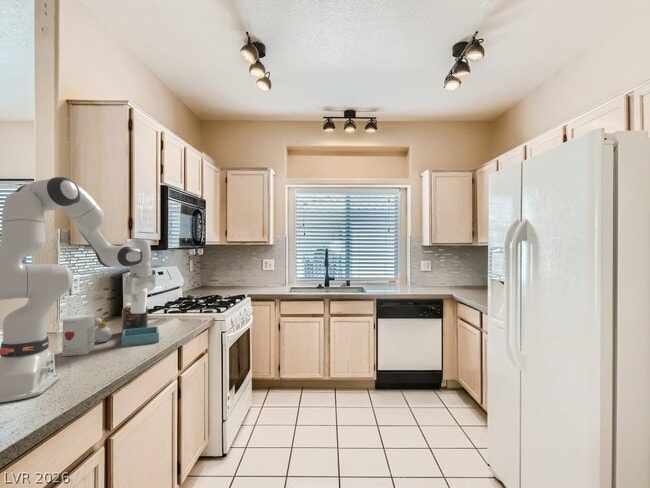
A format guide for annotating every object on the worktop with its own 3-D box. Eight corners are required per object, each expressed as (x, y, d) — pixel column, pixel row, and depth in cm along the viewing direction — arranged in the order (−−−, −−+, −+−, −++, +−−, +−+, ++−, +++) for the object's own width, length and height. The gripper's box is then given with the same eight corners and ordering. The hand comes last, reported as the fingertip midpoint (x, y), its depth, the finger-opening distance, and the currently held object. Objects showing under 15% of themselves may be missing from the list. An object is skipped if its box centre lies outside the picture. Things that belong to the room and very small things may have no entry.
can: (139, 314, 160) (141, 288, 161) (126, 313, 162) (129, 287, 163) (148, 312, 167) (150, 287, 168) (136, 311, 168) (139, 286, 169)
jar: (146, 334, 177) (146, 304, 177) (120, 336, 172) (120, 306, 172) (148, 328, 188) (148, 300, 188) (123, 330, 183) (124, 302, 183)
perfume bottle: (112, 338, 168) (112, 314, 168) (110, 344, 159) (110, 317, 159) (94, 340, 164) (94, 315, 164) (90, 346, 156) (90, 319, 156)
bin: (158, 342, 162) (158, 333, 162) (121, 346, 155) (121, 337, 155) (158, 334, 175) (158, 326, 175) (123, 338, 169) (123, 329, 169)
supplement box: (61, 356, 141) (61, 319, 141) (71, 350, 150) (71, 315, 150) (86, 354, 144) (87, 318, 144) (95, 348, 152) (95, 314, 152)
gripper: (133, 274, 155) (133, 305, 155) (157, 270, 175) (157, 298, 175) (120, 274, 155) (119, 305, 155) (145, 270, 175) (145, 298, 176)
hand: (140, 301), depth 165 cm, fingers closed on can, 5 cm apart
